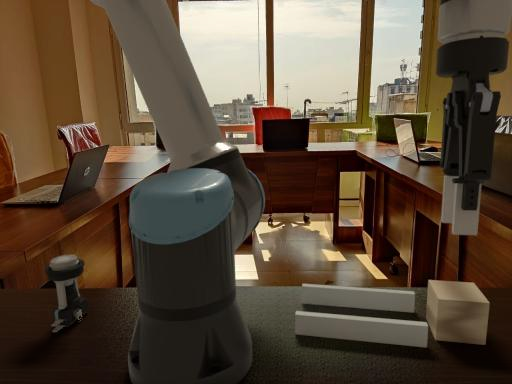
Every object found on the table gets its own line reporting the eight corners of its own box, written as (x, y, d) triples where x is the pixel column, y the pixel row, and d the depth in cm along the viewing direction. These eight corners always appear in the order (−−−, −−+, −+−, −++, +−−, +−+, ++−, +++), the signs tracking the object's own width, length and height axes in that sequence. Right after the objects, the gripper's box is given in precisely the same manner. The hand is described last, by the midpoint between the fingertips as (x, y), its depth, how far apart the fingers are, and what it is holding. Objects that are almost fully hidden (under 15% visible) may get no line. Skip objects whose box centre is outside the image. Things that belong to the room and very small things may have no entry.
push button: (70, 336, 53) (61, 270, 51) (37, 333, 54) (27, 268, 52) (97, 312, 60) (90, 253, 58) (67, 310, 60) (59, 252, 59)
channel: (295, 334, 52) (295, 314, 52) (302, 300, 62) (302, 283, 61) (426, 347, 48) (428, 326, 48) (412, 309, 58) (413, 291, 57)
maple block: (435, 340, 50) (438, 299, 49) (425, 317, 56) (428, 279, 55) (485, 345, 49) (489, 302, 47) (470, 321, 54) (473, 282, 53)
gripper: (546, 20, 36) (520, 252, 40) (480, 51, 53) (467, 212, 57) (460, 26, 37) (444, 249, 42) (423, 54, 54) (415, 211, 59)
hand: (457, 227), depth 49 cm, fingers open, 5 cm apart
